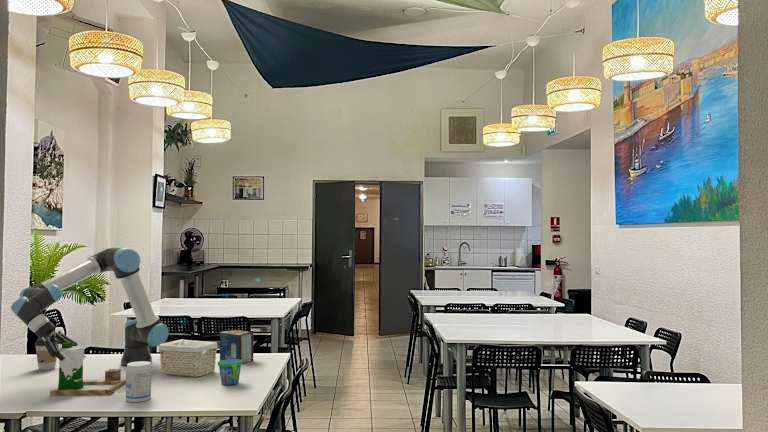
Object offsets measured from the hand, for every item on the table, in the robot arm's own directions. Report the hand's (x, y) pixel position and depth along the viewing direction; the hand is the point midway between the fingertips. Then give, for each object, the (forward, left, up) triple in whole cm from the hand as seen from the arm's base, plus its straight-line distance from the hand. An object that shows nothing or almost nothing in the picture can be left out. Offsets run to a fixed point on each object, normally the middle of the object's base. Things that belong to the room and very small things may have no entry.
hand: (77, 361), depth 264 cm
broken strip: (-10, -9, -12) cm, 18 cm away
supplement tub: (-20, +30, -12) cm, 38 cm away
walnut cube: (-15, -7, -11) cm, 20 cm away
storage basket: (-49, -11, -13) cm, 52 cm away
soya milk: (+2, -1, -12) cm, 12 cm away
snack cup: (-60, +22, -12) cm, 66 cm away
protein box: (-78, -27, -13) cm, 84 cm away
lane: (-4, +2, -12) cm, 13 cm away
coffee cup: (+10, -57, -12) cm, 59 cm away
